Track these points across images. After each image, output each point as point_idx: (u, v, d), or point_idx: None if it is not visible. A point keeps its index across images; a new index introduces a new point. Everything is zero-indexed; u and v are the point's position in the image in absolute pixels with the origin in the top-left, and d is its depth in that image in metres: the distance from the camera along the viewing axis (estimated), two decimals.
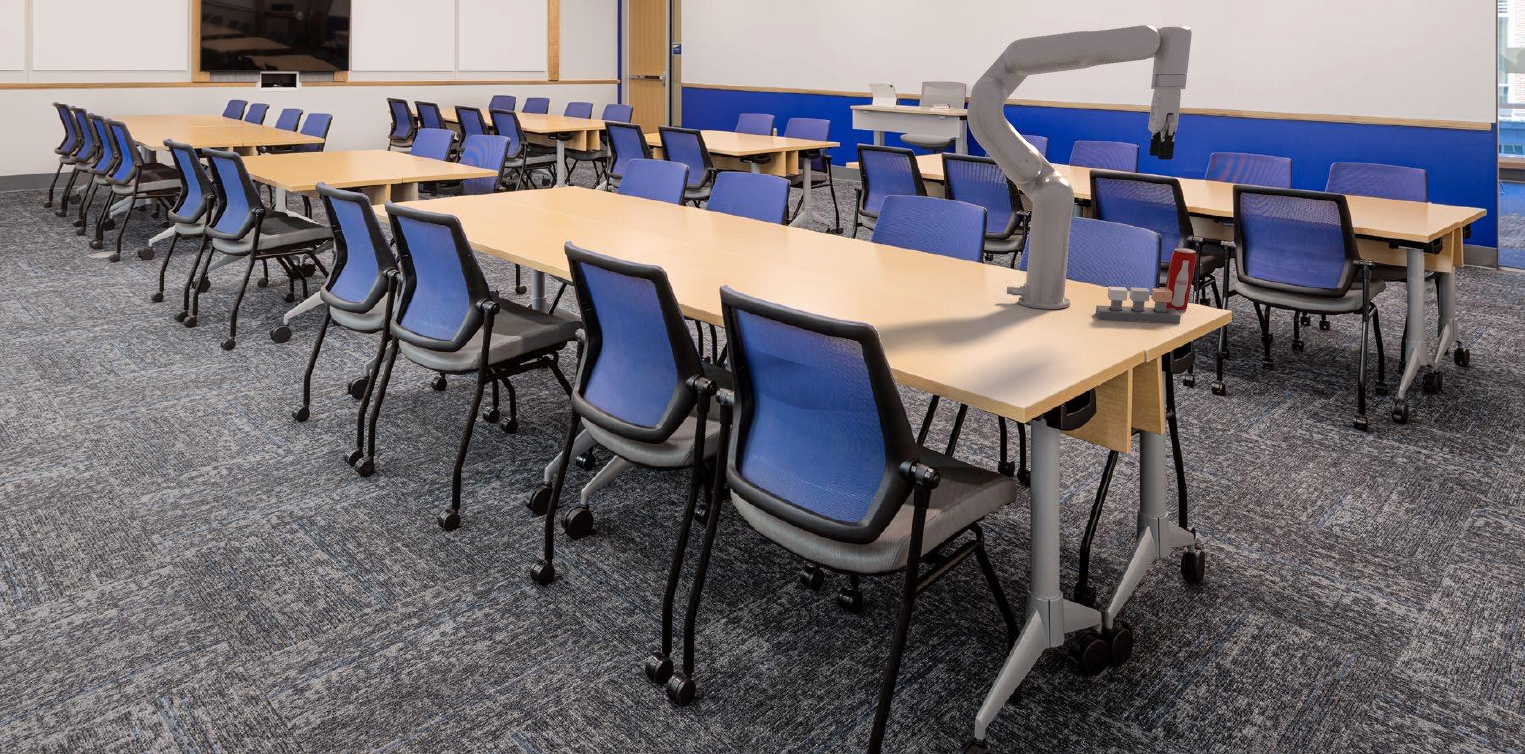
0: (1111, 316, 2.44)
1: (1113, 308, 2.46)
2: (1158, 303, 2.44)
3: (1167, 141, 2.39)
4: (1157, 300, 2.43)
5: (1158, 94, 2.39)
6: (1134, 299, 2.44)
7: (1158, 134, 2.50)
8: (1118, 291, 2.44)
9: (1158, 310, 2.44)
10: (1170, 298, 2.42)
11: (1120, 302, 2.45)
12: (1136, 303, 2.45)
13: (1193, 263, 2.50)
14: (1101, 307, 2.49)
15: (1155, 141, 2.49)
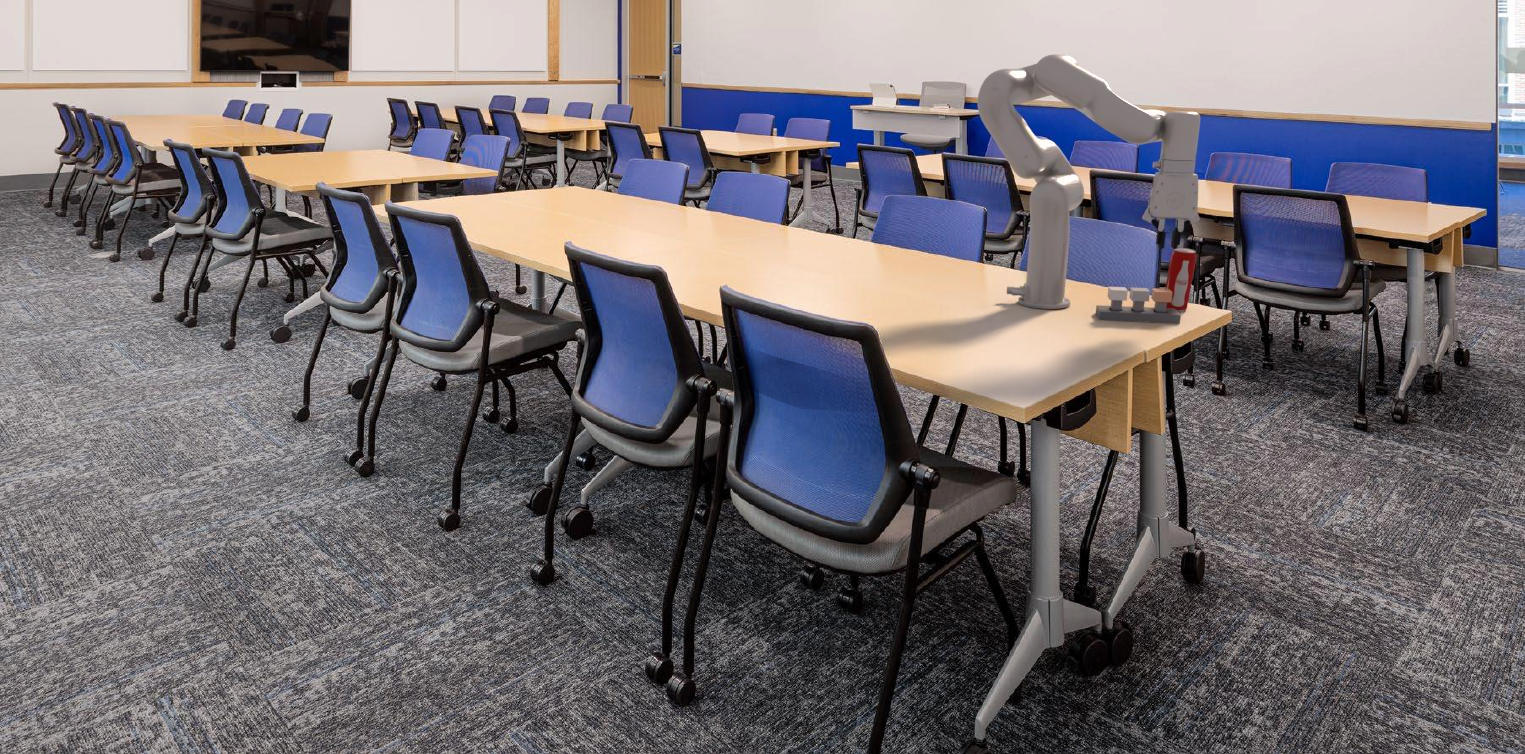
0: (1111, 316, 2.44)
1: (1113, 308, 2.46)
2: (1158, 303, 2.44)
3: None
4: (1157, 300, 2.43)
5: (1192, 180, 2.33)
6: (1134, 299, 2.44)
7: None
8: (1118, 291, 2.44)
9: (1158, 310, 2.44)
10: (1170, 298, 2.42)
11: (1120, 302, 2.45)
12: (1136, 303, 2.45)
13: (1193, 263, 2.50)
14: (1101, 307, 2.49)
15: None
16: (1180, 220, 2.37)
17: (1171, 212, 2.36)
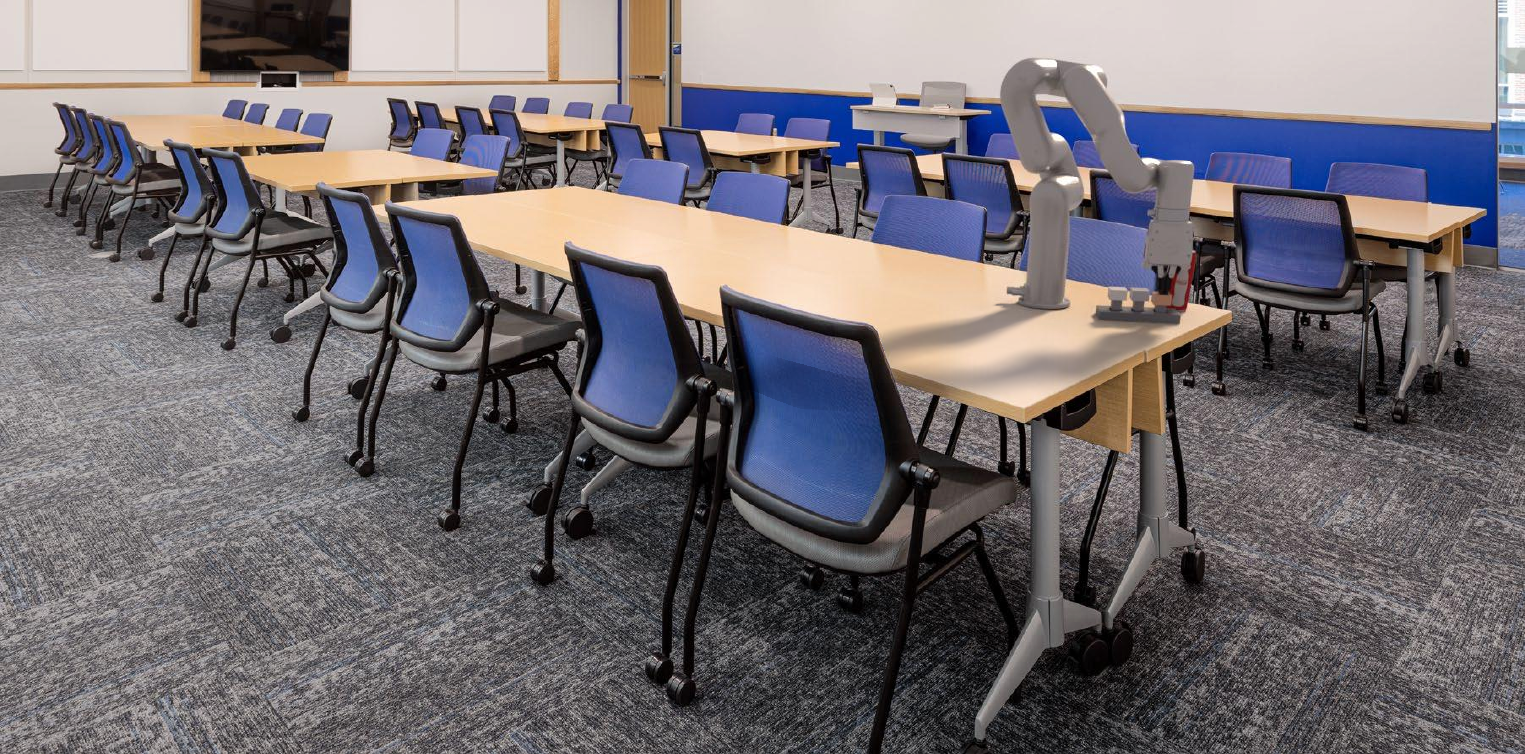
0: (1111, 316, 2.44)
1: (1113, 308, 2.46)
2: (1158, 306, 2.44)
3: None
4: (1157, 303, 2.43)
5: (1186, 228, 2.36)
6: (1134, 299, 2.44)
7: None
8: (1118, 291, 2.44)
9: None
10: (1170, 301, 2.42)
11: (1120, 302, 2.45)
12: (1136, 303, 2.45)
13: (1193, 263, 2.50)
14: (1101, 307, 2.49)
15: None
16: (1172, 266, 2.40)
17: (1166, 259, 2.39)
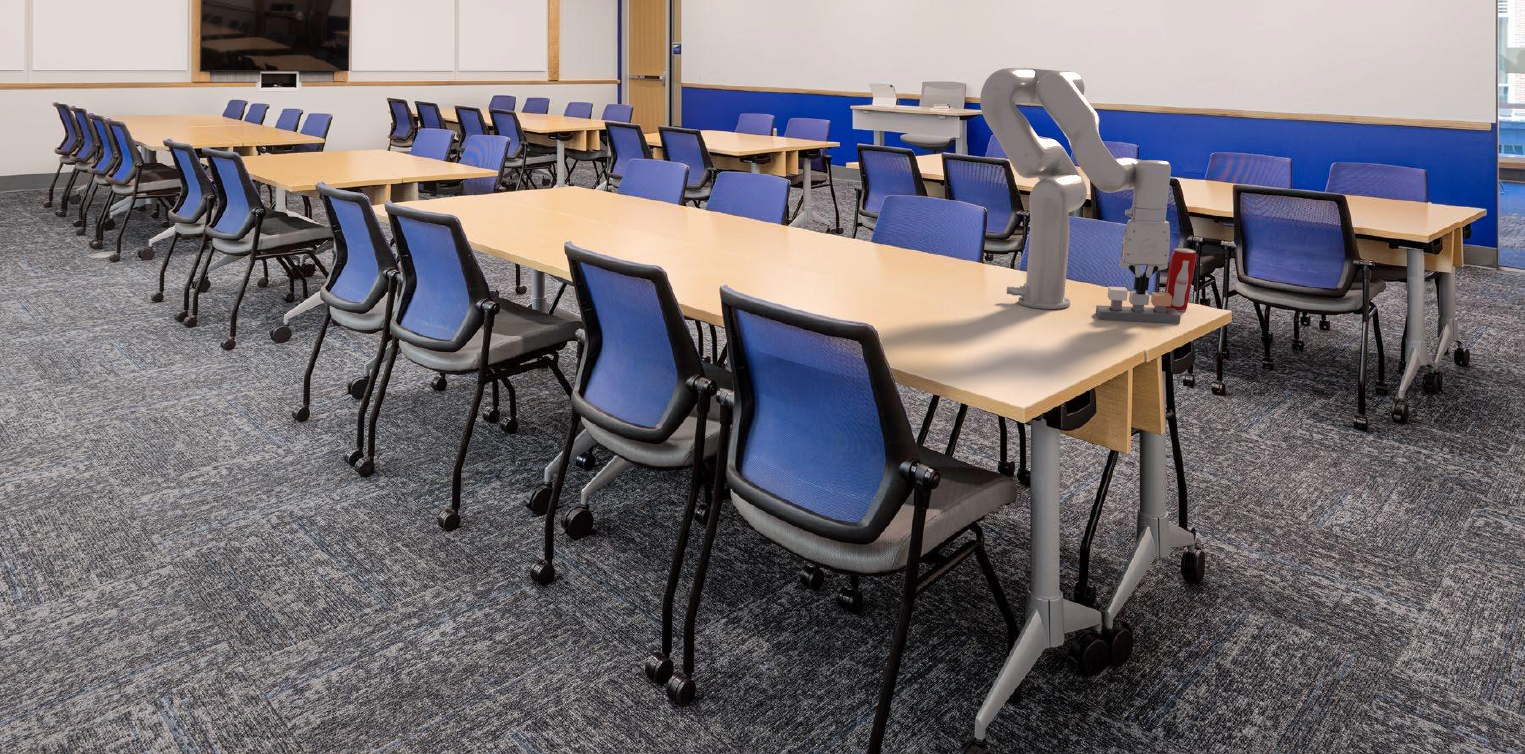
0: (1111, 316, 2.44)
1: (1113, 308, 2.46)
2: (1158, 307, 2.44)
3: None
4: (1157, 304, 2.43)
5: (1163, 227, 2.37)
6: (1134, 303, 2.44)
7: None
8: (1118, 291, 2.44)
9: None
10: (1170, 302, 2.42)
11: (1120, 302, 2.45)
12: (1136, 307, 2.45)
13: (1193, 263, 2.50)
14: (1101, 307, 2.49)
15: None
16: (1150, 266, 2.41)
17: (1143, 259, 2.40)
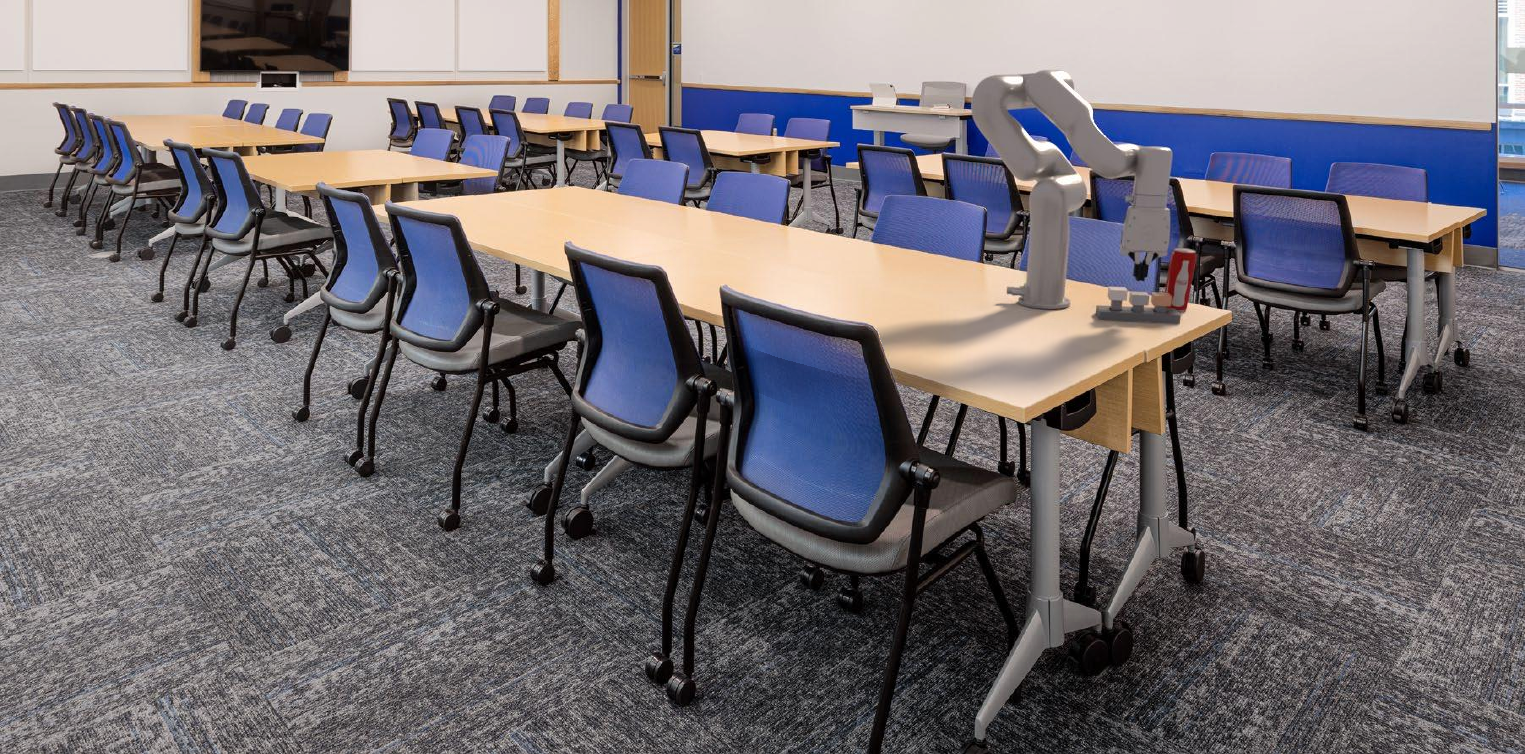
0: (1111, 316, 2.44)
1: (1113, 308, 2.46)
2: (1158, 307, 2.44)
3: None
4: (1157, 304, 2.43)
5: (1163, 214, 2.37)
6: (1134, 303, 2.44)
7: None
8: (1118, 291, 2.44)
9: None
10: (1170, 302, 2.42)
11: (1120, 302, 2.45)
12: (1136, 307, 2.45)
13: (1193, 263, 2.50)
14: (1101, 307, 2.49)
15: None
16: (1149, 253, 2.41)
17: (1143, 246, 2.39)
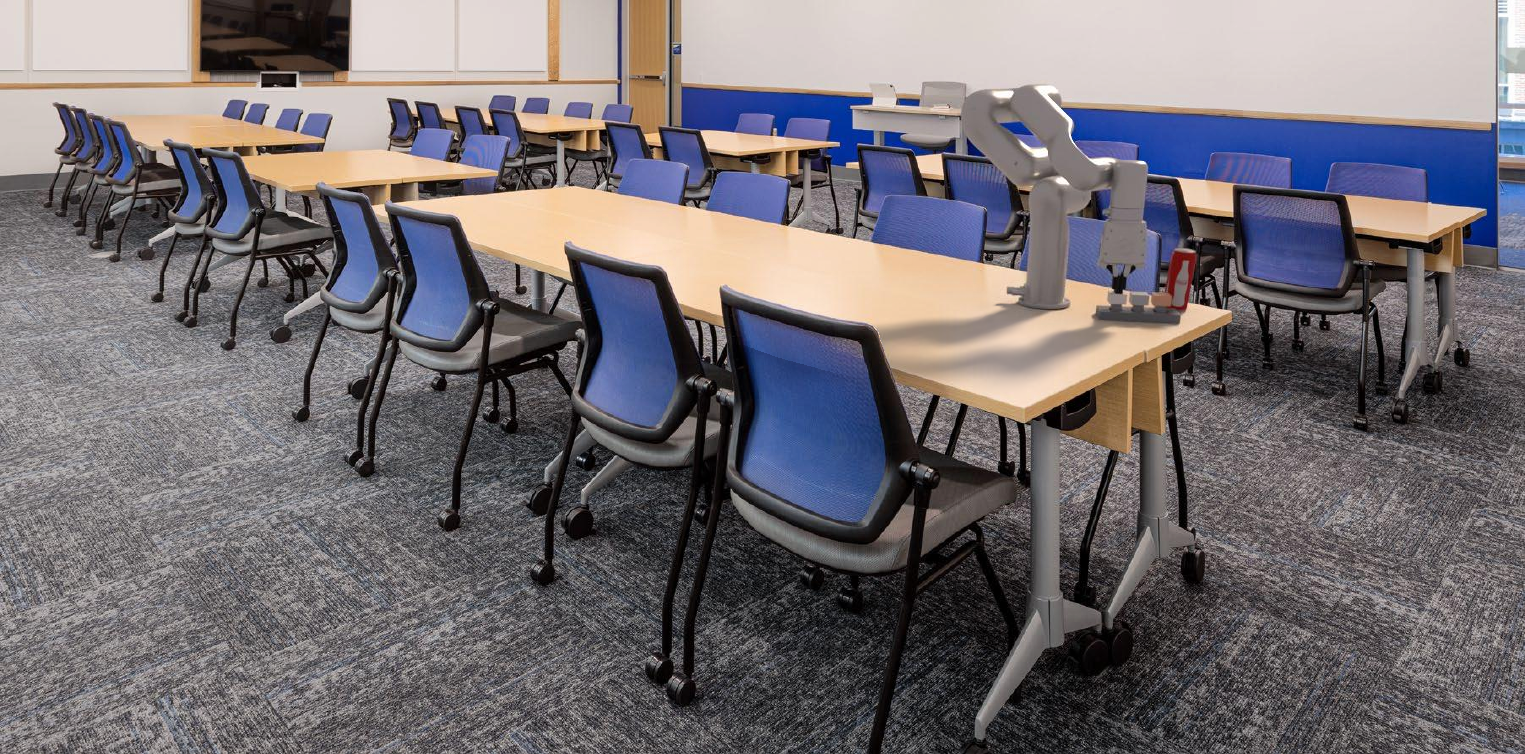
0: (1111, 316, 2.44)
1: None
2: (1158, 307, 2.44)
3: None
4: (1157, 304, 2.43)
5: (1140, 227, 2.38)
6: (1134, 303, 2.44)
7: None
8: (1118, 295, 2.44)
9: None
10: (1170, 302, 2.42)
11: (1120, 306, 2.45)
12: (1136, 307, 2.45)
13: (1193, 263, 2.50)
14: (1101, 307, 2.49)
15: None
16: (1127, 265, 2.42)
17: (1121, 258, 2.41)
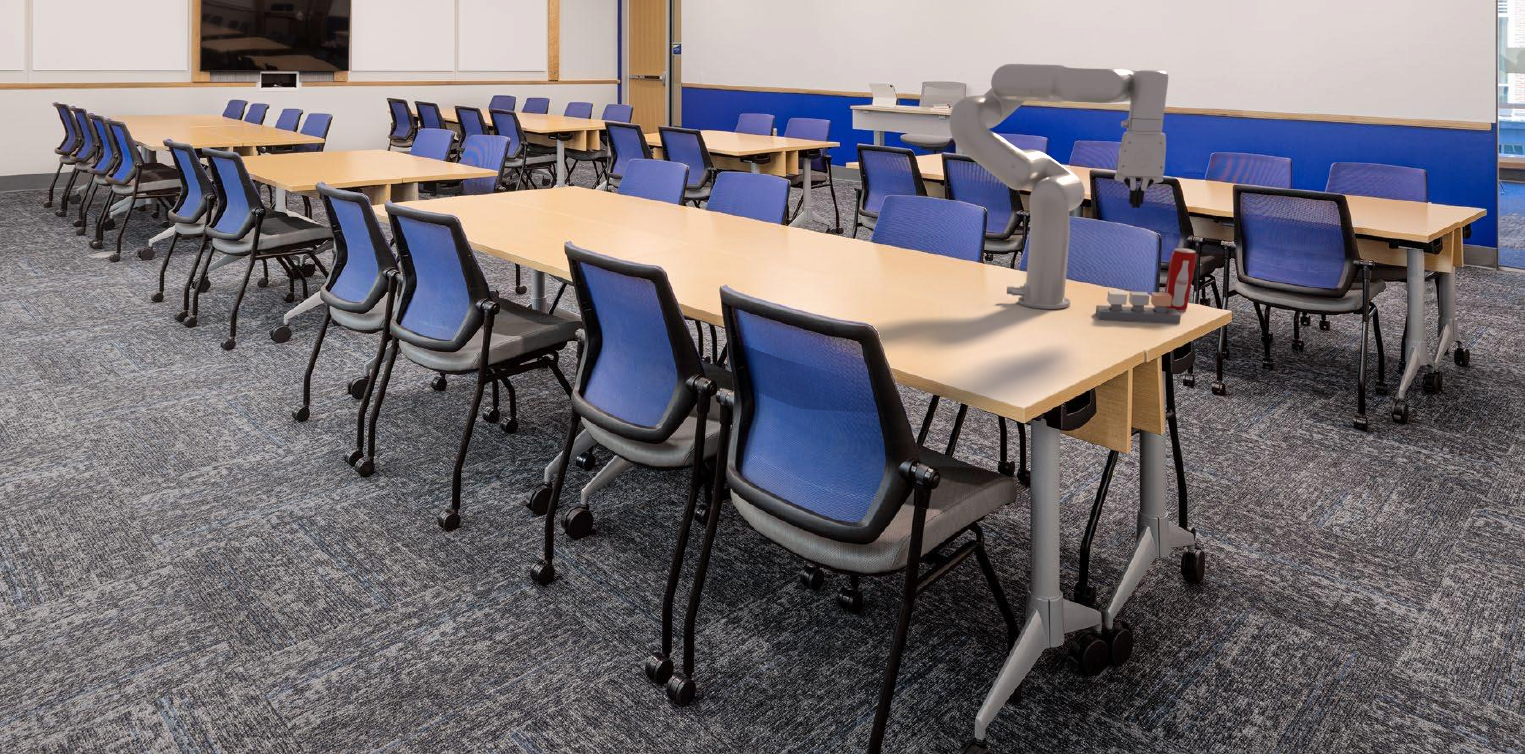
0: (1111, 316, 2.44)
1: None
2: (1158, 307, 2.44)
3: None
4: (1157, 304, 2.43)
5: (1159, 139, 2.35)
6: (1134, 303, 2.44)
7: None
8: (1118, 295, 2.44)
9: None
10: (1170, 302, 2.42)
11: (1120, 306, 2.45)
12: (1136, 307, 2.45)
13: (1193, 263, 2.50)
14: (1101, 307, 2.49)
15: None
16: (1145, 179, 2.39)
17: (1138, 171, 2.37)
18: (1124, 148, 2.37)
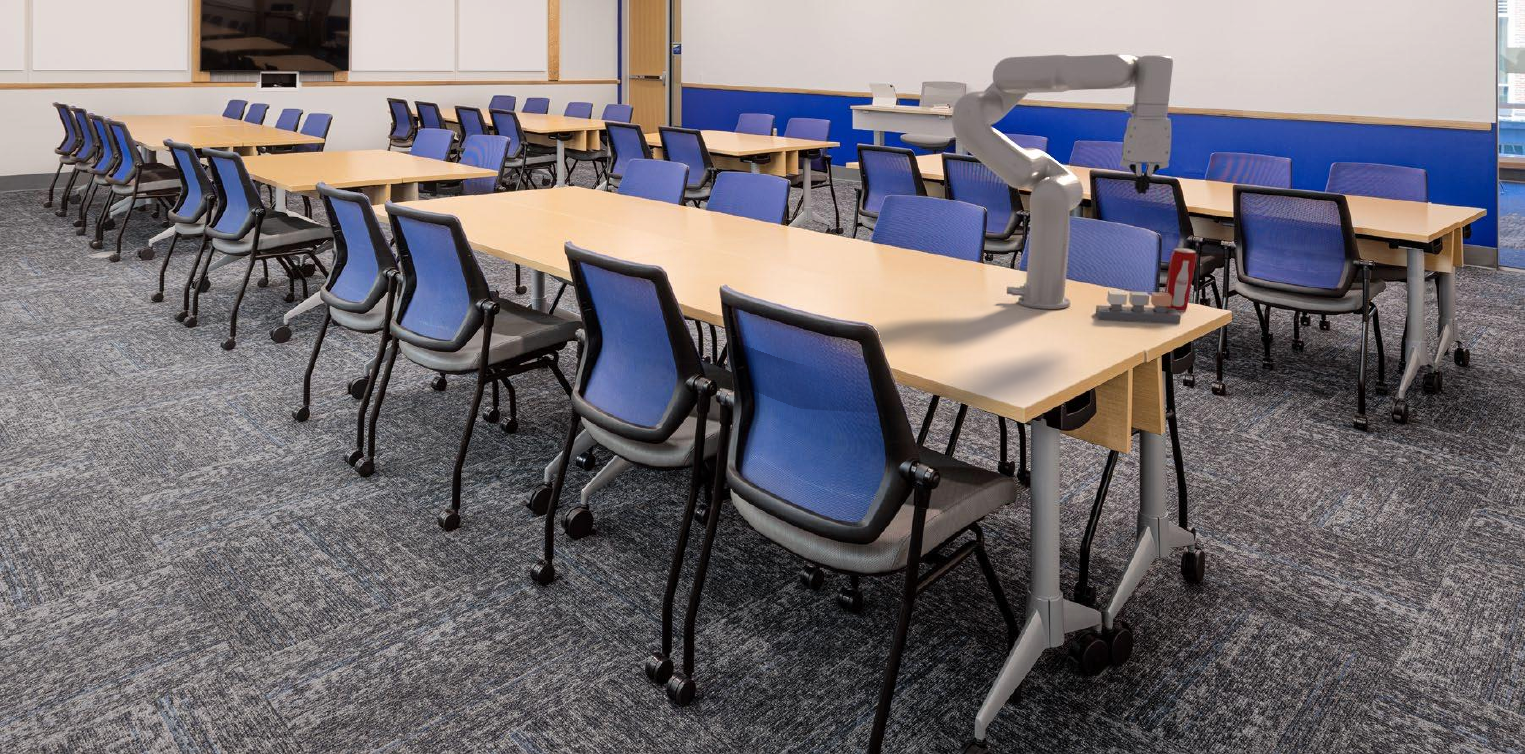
0: (1111, 316, 2.44)
1: None
2: (1158, 307, 2.44)
3: None
4: (1157, 304, 2.43)
5: (1164, 124, 2.34)
6: (1134, 303, 2.44)
7: None
8: (1118, 295, 2.44)
9: None
10: (1170, 302, 2.42)
11: (1120, 306, 2.45)
12: (1136, 307, 2.45)
13: (1193, 263, 2.50)
14: (1101, 307, 2.49)
15: None
16: (1151, 164, 2.38)
17: (1144, 156, 2.37)
18: (1129, 134, 2.36)
